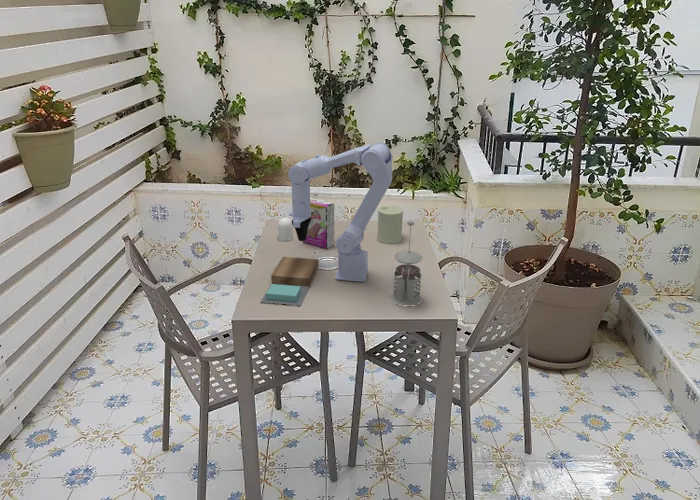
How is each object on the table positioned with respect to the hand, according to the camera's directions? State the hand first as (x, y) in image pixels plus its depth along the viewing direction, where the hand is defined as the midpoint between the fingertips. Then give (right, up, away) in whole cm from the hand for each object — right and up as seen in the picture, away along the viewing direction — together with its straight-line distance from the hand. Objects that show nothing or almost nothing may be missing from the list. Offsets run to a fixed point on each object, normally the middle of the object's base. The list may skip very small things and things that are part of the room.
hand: (302, 240), depth 184 cm
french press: (+32, -18, -15) cm, 40 cm away
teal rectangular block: (-4, -15, -15) cm, 22 cm away
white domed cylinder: (-8, +1, +27) cm, 28 cm away
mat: (-4, -17, -13) cm, 21 cm away
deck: (-2, -11, -1) cm, 12 cm away
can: (+30, +1, +27) cm, 40 cm away
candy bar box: (+4, -1, +22) cm, 22 cm away
